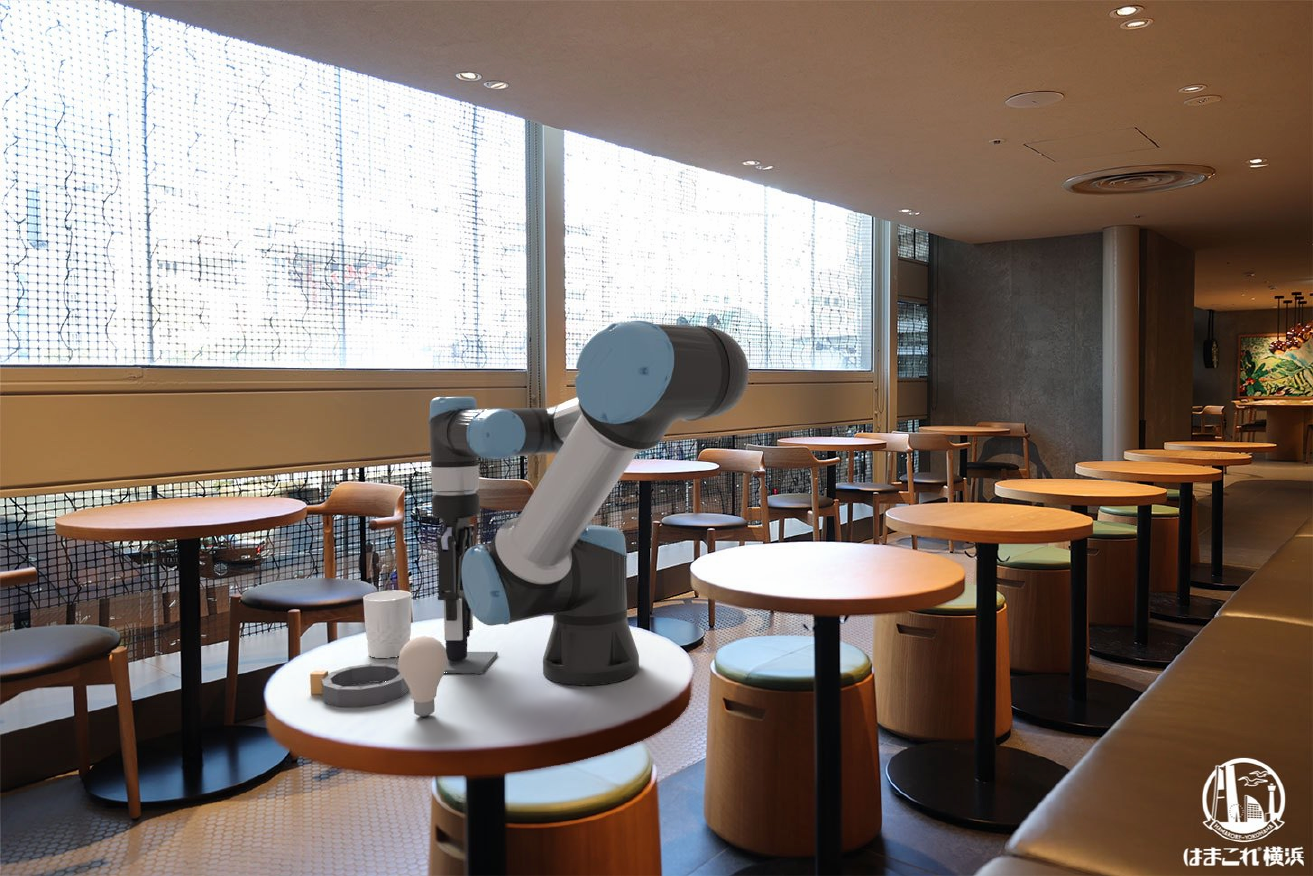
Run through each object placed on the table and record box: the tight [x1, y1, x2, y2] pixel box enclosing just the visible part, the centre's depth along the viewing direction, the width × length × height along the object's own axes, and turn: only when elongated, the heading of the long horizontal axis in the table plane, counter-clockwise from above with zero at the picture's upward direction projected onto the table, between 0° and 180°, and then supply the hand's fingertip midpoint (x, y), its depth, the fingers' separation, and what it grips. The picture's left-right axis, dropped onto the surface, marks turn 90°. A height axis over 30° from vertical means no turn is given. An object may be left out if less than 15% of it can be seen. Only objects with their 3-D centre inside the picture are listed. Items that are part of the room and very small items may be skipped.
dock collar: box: [309, 663, 410, 708], centre depth 129 cm, size 14×12×3 cm
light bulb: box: [397, 635, 448, 718], centre depth 119 cm, size 7×7×11 cm
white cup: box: [362, 589, 413, 659], centre depth 149 cm, size 8×8×10 cm
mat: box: [445, 651, 498, 675], centre depth 142 cm, size 10×10×1 cm
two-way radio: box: [445, 596, 471, 661], centre depth 142 cm, size 6×4×15 cm
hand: (459, 634), depth 142 cm, fingers closed on two-way radio, 5 cm apart
